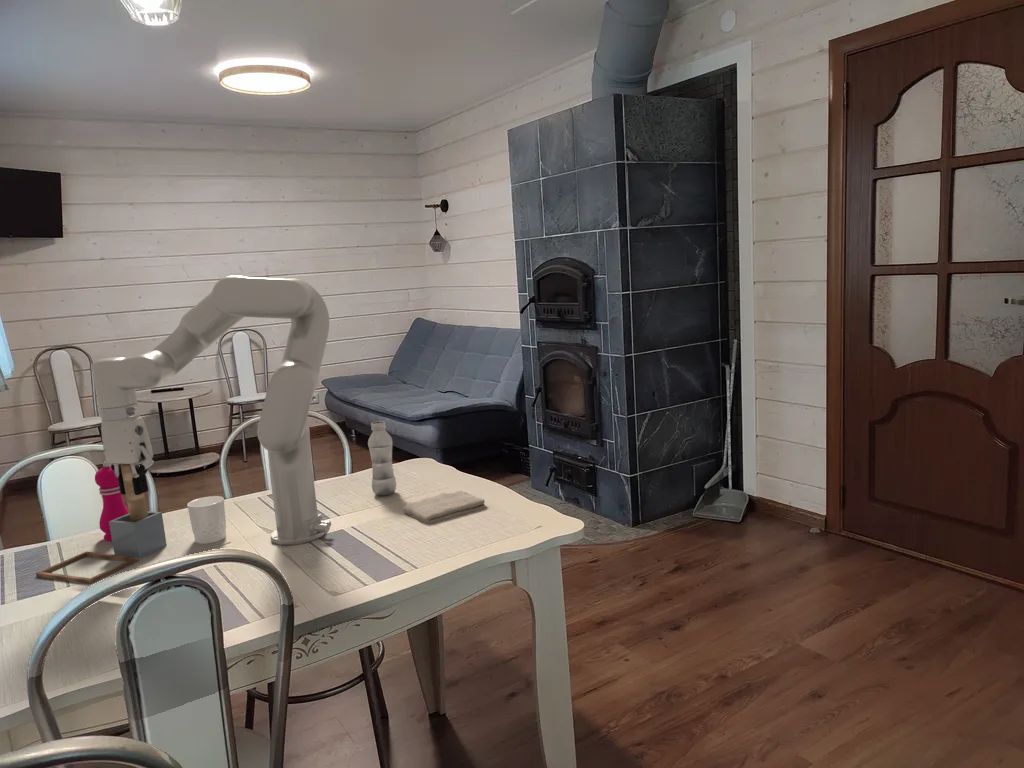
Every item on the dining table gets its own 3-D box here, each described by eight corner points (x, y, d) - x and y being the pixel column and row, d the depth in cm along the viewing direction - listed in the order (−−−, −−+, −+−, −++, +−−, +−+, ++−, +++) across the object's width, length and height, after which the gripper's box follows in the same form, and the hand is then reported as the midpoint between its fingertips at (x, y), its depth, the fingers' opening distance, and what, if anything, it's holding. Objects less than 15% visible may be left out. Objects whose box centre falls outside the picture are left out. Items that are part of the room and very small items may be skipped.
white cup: (185, 547, 171) (179, 506, 170) (210, 534, 178) (204, 495, 177) (212, 549, 168) (206, 507, 167) (236, 537, 176) (230, 496, 174)
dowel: (154, 528, 169) (141, 461, 166) (141, 534, 165) (128, 465, 163) (142, 527, 170) (130, 460, 167) (129, 533, 167) (116, 465, 164)
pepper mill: (128, 532, 184) (115, 455, 181) (141, 538, 180) (128, 458, 176) (97, 542, 179) (84, 462, 175) (110, 548, 174) (96, 466, 171)
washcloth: (488, 508, 185) (488, 496, 185) (426, 527, 175) (425, 514, 174) (463, 498, 195) (462, 487, 194) (402, 515, 184) (401, 503, 184)
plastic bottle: (376, 490, 205) (369, 420, 202) (400, 490, 204) (393, 419, 201) (369, 498, 199) (361, 425, 195) (393, 497, 198) (386, 424, 194)
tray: (139, 565, 162) (138, 557, 162) (91, 588, 151) (89, 580, 151) (87, 558, 168) (86, 551, 168) (37, 581, 157) (35, 573, 157)
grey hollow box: (167, 549, 170) (161, 512, 169) (140, 562, 163) (133, 523, 162) (142, 546, 173) (137, 510, 172) (115, 559, 166) (108, 521, 165)
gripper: (161, 409, 163) (175, 488, 166) (107, 410, 170) (122, 486, 173) (133, 416, 157) (148, 499, 160) (78, 417, 163) (93, 497, 166)
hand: (134, 492), depth 166 cm, fingers closed on dowel, 3 cm apart
